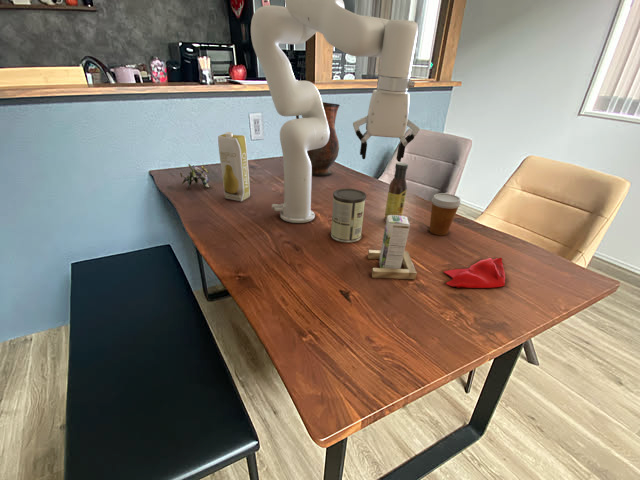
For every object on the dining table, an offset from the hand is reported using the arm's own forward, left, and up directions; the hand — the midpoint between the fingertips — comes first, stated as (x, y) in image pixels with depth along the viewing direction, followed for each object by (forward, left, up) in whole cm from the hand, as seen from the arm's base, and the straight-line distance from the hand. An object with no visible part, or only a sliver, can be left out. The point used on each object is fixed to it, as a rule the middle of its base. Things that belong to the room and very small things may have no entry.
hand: (380, 159), depth 99 cm
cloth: (+31, -15, -27) cm, 44 cm away
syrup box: (+5, -12, -27) cm, 30 cm away
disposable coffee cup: (+26, +15, -27) cm, 40 cm away
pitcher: (-18, +79, -27) cm, 85 cm away
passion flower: (-68, +49, -27) cm, 88 cm away
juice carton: (-49, +40, -27) cm, 68 cm away
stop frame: (+5, -12, -26) cm, 29 cm away
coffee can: (-7, +8, -27) cm, 29 cm away
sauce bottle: (+11, +23, -27) cm, 37 cm away
